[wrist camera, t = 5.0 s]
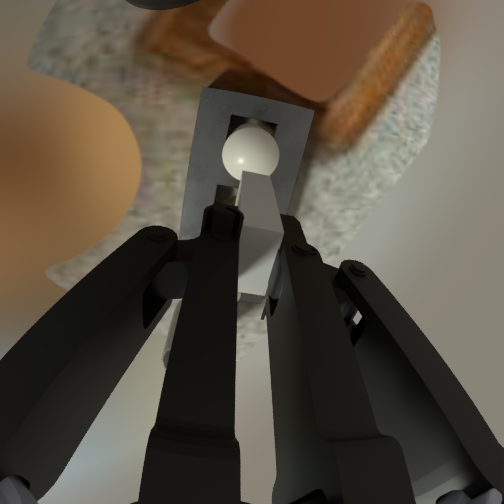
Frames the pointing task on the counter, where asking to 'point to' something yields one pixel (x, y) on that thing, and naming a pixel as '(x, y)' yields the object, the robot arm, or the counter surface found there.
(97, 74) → the counter surface
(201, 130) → the panel
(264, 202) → the robot arm
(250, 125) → the knob
